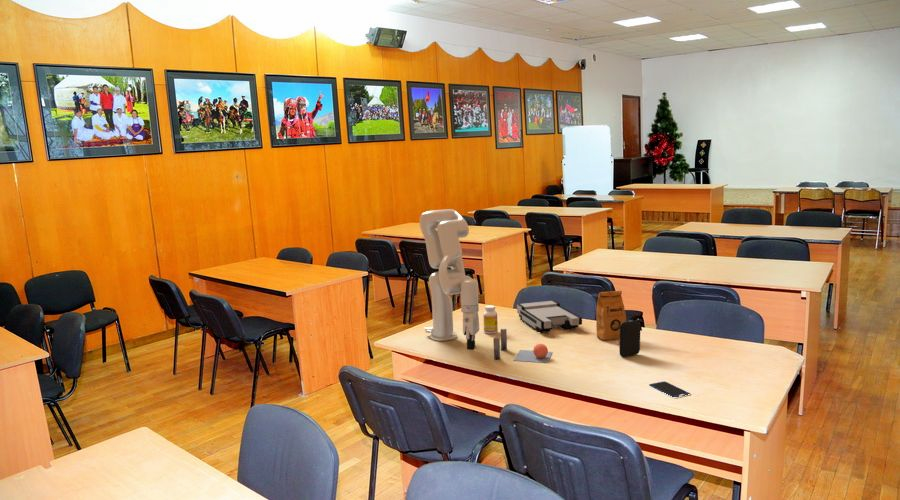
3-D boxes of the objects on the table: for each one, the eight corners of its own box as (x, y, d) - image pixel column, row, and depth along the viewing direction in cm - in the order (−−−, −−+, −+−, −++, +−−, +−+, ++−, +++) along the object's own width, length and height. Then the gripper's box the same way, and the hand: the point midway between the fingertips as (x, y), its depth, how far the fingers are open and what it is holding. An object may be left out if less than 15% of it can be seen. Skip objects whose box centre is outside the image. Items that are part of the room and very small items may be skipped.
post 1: (493, 360, 253) (492, 339, 251) (494, 358, 255) (494, 337, 254) (499, 360, 252) (498, 339, 251) (500, 358, 254) (500, 337, 253)
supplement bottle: (496, 334, 289) (496, 308, 287) (482, 334, 290) (482, 308, 288) (498, 330, 295) (497, 304, 293) (484, 330, 296) (484, 304, 294)
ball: (546, 360, 249) (532, 360, 251) (549, 355, 255) (535, 356, 257) (545, 345, 249) (531, 345, 251) (548, 341, 254) (534, 342, 256)
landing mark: (513, 360, 251) (513, 360, 251) (520, 350, 264) (520, 349, 264) (547, 363, 247) (547, 362, 247) (552, 352, 260) (552, 351, 260)
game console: (541, 336, 284) (540, 319, 283) (517, 319, 315) (517, 304, 314) (582, 331, 289) (582, 315, 288) (554, 315, 320) (554, 300, 319)
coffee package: (628, 340, 272) (629, 292, 269) (601, 342, 271) (601, 294, 268) (620, 334, 282) (620, 287, 278) (594, 336, 281) (594, 289, 277)
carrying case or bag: (639, 352, 255) (639, 318, 253) (643, 354, 252) (644, 320, 250) (617, 356, 251) (617, 321, 249) (622, 358, 249) (622, 323, 246)
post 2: (500, 350, 265) (499, 330, 264) (501, 348, 267) (501, 328, 266) (506, 350, 264) (505, 330, 263) (507, 348, 267) (507, 328, 265)
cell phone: (674, 399, 207) (674, 397, 207) (648, 386, 220) (648, 384, 220) (692, 396, 210) (692, 394, 209) (664, 382, 222) (664, 380, 222)
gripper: (473, 312, 252) (474, 355, 255) (482, 304, 267) (483, 344, 269) (456, 311, 255) (457, 354, 258) (466, 303, 269) (467, 343, 272)
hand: (471, 349), depth 263 cm, fingers closed
